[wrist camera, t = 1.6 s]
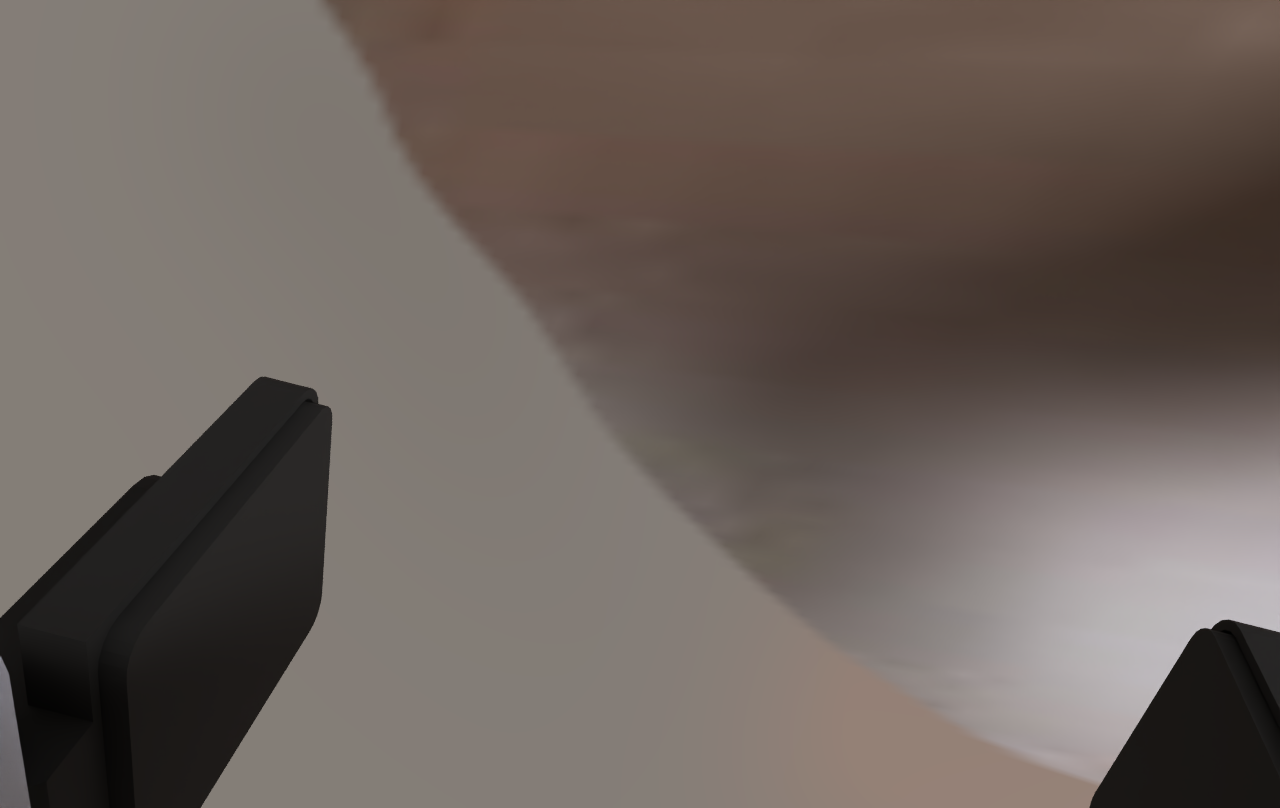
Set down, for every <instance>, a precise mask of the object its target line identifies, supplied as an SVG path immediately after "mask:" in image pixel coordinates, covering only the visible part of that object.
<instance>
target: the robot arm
mask: <svg viewBox="0 0 1280 808" xmlns="http://www.w3.org/2000/svg"><path fill="white" fill-rule="evenodd" d="M331 430H332V412H331V409H330V408H329V407H328V406H324V405H320V404H318V397H317V393H316V391H315V390H314V389H311V388H308V387H304V386H299V385H295V384H292V383H288V382H284V381H280V380H276V379H272V378H268V377H260V378H258V379H257V380H256V381H254V382H253V383H252V384H251V385H250V386H249V388H247V390H245V392H244V393H243V394H242V395H241V396H240V397H239V398H238V399H237V400H236V401H235V402H234V403H233V404H232V405H231V406H230V407H229V408H228V409H227V410H226V411H225V412H224V413H223V414H222V415H221V416H220V417H219V418H218V419H217V420H216V421H215V422H214V423H213V424H212V426H210V427H209V428H208V430H207V431H205V432H204V433H203V435H202V436H201V437H200V438H199V439H198V440H197V441H196V442H195V443H194V444H193V445H192V446H191V447H190V448H189V449H188V450H187V451H186V452H185V453H184V454H183V455H182V456H181V457H180V458H179V459H178V460H177V461H176V462H175V463H174V464H173V465H172V466H171V468H169V469H168V470H167V471H166V473H165V474H164V475H163V476H162V477H160V476H157V475H151V476H147V477H144V478H143V479H141V480H140V481H139V482H137V483H136V484H135V485H133V486H132V487H131V488H130V489H129V490H128V491H127V492H126V493H125V495H123V496H122V498H120V499H119V500H118V501H117V502H116V503H115V504H114V505H113V506H112V507H111V508H110V509H109V510H108V511H107V513H105V514H104V515H103V516H102V517H101V518H100V519H99V520H98V521H97V522H96V523H95V524H94V525H93V526H92V527H91V528H90V529H89V530H88V531H87V532H86V533H85V534H84V535H83V536H82V537H81V538H80V539H79V540H78V541H77V542H76V543H75V544H74V545H73V546H72V547H71V548H70V549H69V550H68V551H67V552H66V553H65V554H64V555H63V556H62V557H61V558H60V559H59V560H58V561H57V562H56V563H55V564H54V565H53V566H52V567H51V568H50V569H49V570H48V571H47V572H46V573H45V574H44V575H43V576H42V577H41V578H40V579H39V580H38V581H37V582H36V583H35V584H34V585H33V586H32V587H31V588H30V589H29V590H28V591H27V592H26V593H25V594H24V595H23V596H22V597H21V598H20V599H19V600H18V601H17V602H16V603H15V604H14V605H13V606H12V607H11V608H10V609H9V610H8V611H7V612H6V613H5V614H4V615H3V616H2V617H1V618H0V808H201V806H202V804H203V803H204V801H205V799H206V798H207V796H208V795H209V793H210V792H211V789H212V788H213V787H214V785H215V783H216V782H217V780H218V779H219V777H220V775H221V774H222V772H223V770H224V769H225V767H226V766H227V764H228V762H229V761H230V759H231V757H232V756H233V754H234V753H235V751H236V749H237V748H238V746H239V745H240V743H241V741H242V740H243V738H244V736H245V735H246V733H247V732H248V730H249V728H250V727H251V725H252V724H253V722H254V720H255V719H256V717H257V715H258V714H259V712H260V711H261V709H262V707H263V706H264V704H265V703H266V701H267V699H268V698H269V696H270V694H271V693H272V691H273V690H274V688H275V686H276V685H277V683H278V681H279V680H280V678H281V677H282V675H283V673H284V671H285V670H286V669H287V667H288V665H289V664H290V662H291V661H292V659H293V657H294V656H295V654H296V652H297V651H298V649H299V648H300V646H301V644H302V643H303V641H304V639H305V638H306V636H307V635H308V633H309V631H310V630H311V628H312V626H313V624H314V622H315V619H316V617H317V614H318V610H319V607H320V603H321V597H322V584H323V567H324V550H325V549H324V548H325V532H326V516H327V499H328V481H329V464H330V448H331ZM1090 808H1280V632H1276V631H1272V630H1268V629H1264V628H1260V627H1256V626H1252V625H1248V624H1244V623H1240V622H1236V621H1232V620H1222V621H1220V622H1219V623H1217V624H1215V625H1214V626H1213V628H1212V629H1207V628H1204V629H1200V630H1198V631H1197V632H1196V633H1195V634H1194V635H1193V636H1192V638H1191V639H1190V641H1189V642H1188V644H1187V646H1186V647H1185V649H1184V650H1183V652H1182V654H1181V655H1180V657H1179V659H1178V660H1177V662H1176V663H1175V665H1174V667H1173V668H1172V670H1171V671H1170V673H1169V675H1168V676H1167V678H1166V679H1165V681H1164V683H1163V684H1162V686H1161V688H1160V689H1159V691H1158V692H1157V694H1156V696H1155V697H1154V699H1153V700H1152V702H1151V704H1150V705H1149V707H1148V708H1147V710H1146V712H1145V713H1144V715H1143V717H1142V718H1141V720H1140V721H1139V723H1138V725H1137V726H1136V728H1135V729H1134V731H1133V733H1132V734H1131V736H1130V737H1129V739H1128V741H1127V742H1126V744H1125V746H1124V747H1123V749H1122V750H1121V752H1120V754H1119V755H1118V757H1117V758H1116V760H1115V762H1114V763H1113V765H1112V766H1111V768H1110V770H1109V771H1108V773H1107V775H1106V776H1105V778H1104V779H1103V781H1102V783H1101V784H1100V786H1099V787H1098V789H1097V791H1096V792H1095V794H1094V796H1093V798H1092V801H1091V805H1090Z"/></svg>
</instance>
